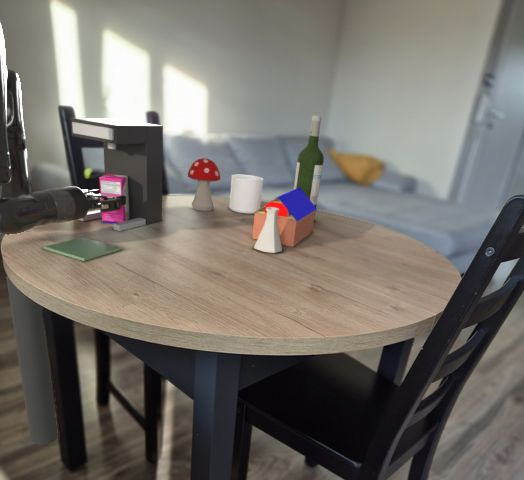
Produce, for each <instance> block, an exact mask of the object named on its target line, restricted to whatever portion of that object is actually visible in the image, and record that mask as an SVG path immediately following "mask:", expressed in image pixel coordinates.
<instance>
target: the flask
mask: <svg viewBox="0 0 524 480" xmlns="http://www.w3.org/2000/svg"><path fill="white" fill-rule="evenodd" d="M266 211H267V217H266V220H265V224H264V226H263V228H262V231H261V233H260V235H259V237H258V239H256V241H255V244H254V246H253V249H255V250H258V251H260V252H264V253H272V254H276V253H279V252H283V251H282V250H283V245H281V241H280V236H279V231H278V226H277V213H278V212H279V209H278V208H274V207H267V208H266Z"/></svg>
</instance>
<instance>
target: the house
mask: <svg viewBox="0 0 524 480" xmlns="http://www.w3.org/2000/svg"><path fill="white" fill-rule="evenodd" d="M267 207H274V208H278V209H279V212H278V213H277V226H278V231H279V236H280V241H281V246H286V247H292V248H293V247H295V246H296V245H298V244H299V243H300V242H302V240H304V239H305V238H307V237H308V236H309V235H310V234H311V233H313V228H314V222H315V219H314V217H315V218H316V212H315V211H317V210H318V208H317V206H316V207H315V206H314V205H313V203H312V202H311V201H310V200H309V198H308V197H307V196H306V195H305V193H304V192H303V191H302V190H301V188H300V187H299V188H297V189H295V190H294V189H293V190H290V191H288V192H285V193H283V194H281V195H279V196H276V197H275V198H274V199H272V200H270V201H269V202H267V203H266V204H264V205H263V206H260V209H258V210H257V211H255V212H254V213H253V214H254V217H253V228H252V236H251V237H252V238H251V239H253V240H257V239H258V237H259V235H260V233H261V231H262V228H263V226H264V224H265V220H266V217H267V211H266V208H267Z"/></svg>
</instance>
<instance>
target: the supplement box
mask: <svg viewBox="0 0 524 480" xmlns="http://www.w3.org/2000/svg"><path fill="white" fill-rule="evenodd" d="M98 179H99V190H100V194H103V195H106V196H107V197H113V196H114V197H116V196H122V195H123V196H126V204H125V205H121V209H120V210H115V211H109V212H102V218H101V221H102V223H104V224H114V223H118V222H123V221H127V220H130V216H129V194H128V176H124V175H113V174H106V175H105V174H103V175H102V176H99V178H98ZM102 200H103V198H100V201H102Z"/></svg>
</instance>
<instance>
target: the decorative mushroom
mask: <svg viewBox="0 0 524 480" xmlns="http://www.w3.org/2000/svg"><path fill="white" fill-rule="evenodd" d="M187 177H188V178H189V179H191V180H194V181H197V186H196V188H195V193H194V198H193V200H192V201H191V207H192V209H193V210H196V211H203V212H211V211H213V209H214V206H215V205H214V201H213V199H212V198H213V197H212V190H211V182H212V183H213V182H218V181H221V173H220V170H219V167H218V166H217V164H216V162H214V161H213V160H211V159H209V158H207V157H206V158H205V157H203V158H202V157H201V158H198V159H196V160H195V161H194V162H192V164H191V165H190V168H189V170H188V172H187Z"/></svg>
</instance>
